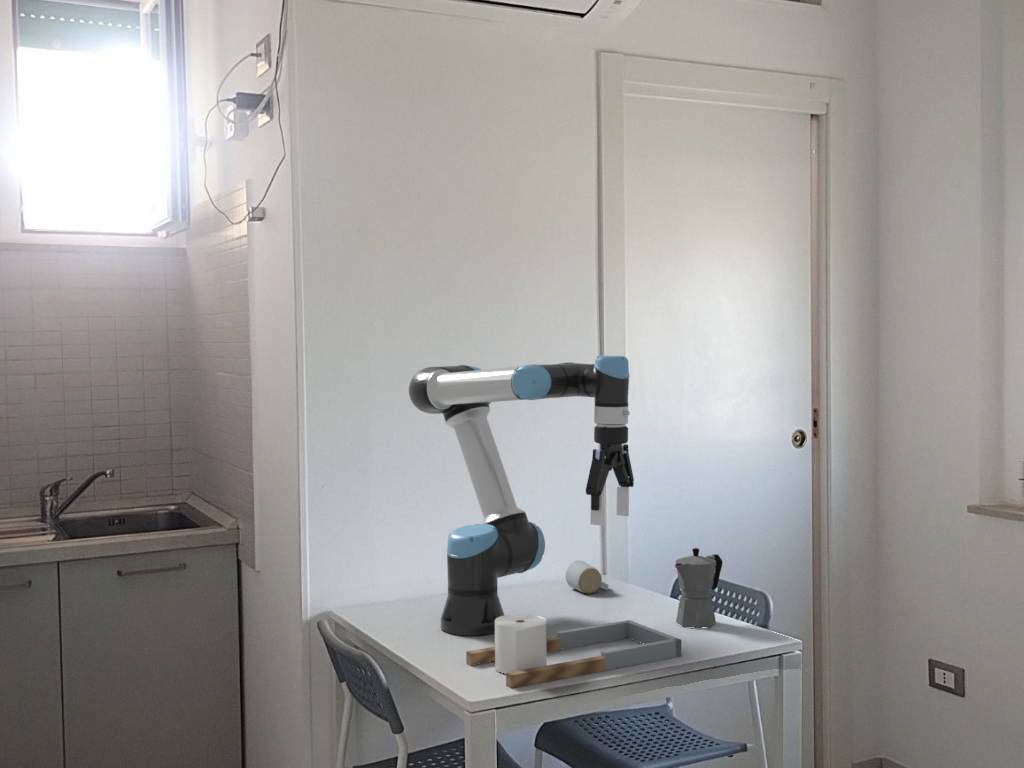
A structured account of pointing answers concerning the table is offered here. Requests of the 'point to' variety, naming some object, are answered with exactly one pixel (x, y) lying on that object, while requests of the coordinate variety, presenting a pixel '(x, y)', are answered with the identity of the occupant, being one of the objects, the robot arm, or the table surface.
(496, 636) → the toilet tissue
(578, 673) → the slot lane
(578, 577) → the ceramic mug
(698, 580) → the coffeepot
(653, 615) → the table surface
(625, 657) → the tray
